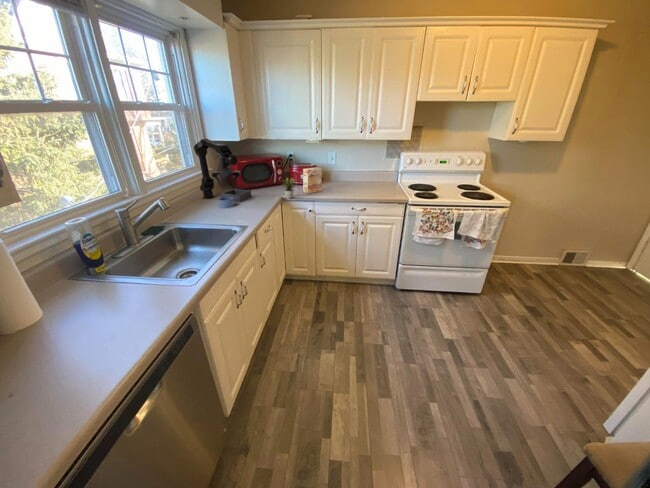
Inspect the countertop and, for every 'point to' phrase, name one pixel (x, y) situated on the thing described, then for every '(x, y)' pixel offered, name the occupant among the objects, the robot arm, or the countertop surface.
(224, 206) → the rice bowl
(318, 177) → the coffeecake box
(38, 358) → the countertop surface
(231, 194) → the tote
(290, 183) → the house plant
